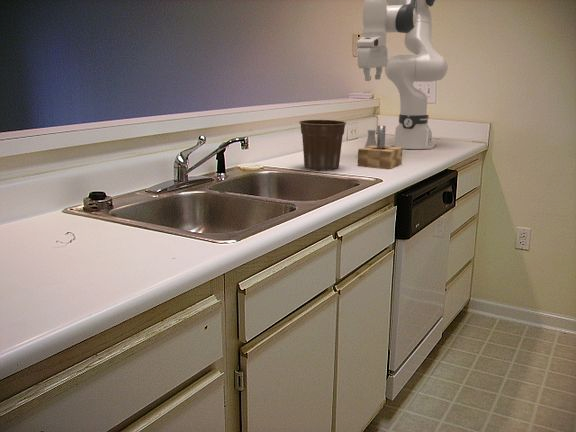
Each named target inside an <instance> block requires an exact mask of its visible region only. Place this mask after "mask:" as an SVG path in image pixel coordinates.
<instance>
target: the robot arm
mask: <svg viewBox="0 0 576 432" xmlns="http://www.w3.org/2000/svg"><path fill="white" fill-rule="evenodd" d="M435 2H436V0H364V1H363V7H362V9H363V10H362V25H363V29H362V33H361V37H360V38H359V39H358V40H356V47H357V66H358V69H362V70H363V74H364V81H365V82H371V80H372V77H371V76H372V75H371V73H370V72H371V69H372V68H373V69H375V70H376V71H375V72H376V73H375V75H374V79H375V80H376V81H377V80H378V81H379V80H381V77H382V72H383V68H384V73H385V76H386V77H387V79H388V80H390V81H391V82H392V84H394V85H395V87H396V89H397V90H398V91H397V92H398V93H399V99H400V101H399V102H400V103H399V104H400V110H399V111H400V112H399V113H400V114H399V115H398V125H397V126H396V127H395V128H394V129H395V130H394V131H395V132H394V138H393V139H394V140H393V143H391V144H390V147H401V148H403V149H402V150H422V149H423V150H426V149H427V150H428V149H429V150H430V149H431V150H433V149H434V148H435V147H436V146H437V142H435V141H432V138H433V137H432V135H433V133H432V131H431V128H430V127H429V124H428V122H429V121H428V120H429V118H430V117H429V114H427V109H428V96H427V94H426V93H425V92H423V91H422V90H420V89H417V88H416V87H415V86H414V83H415V82H419V83H420V82H424V83H425V82H426V83H427V82H436V81H441V80H443V79H444V78H445V76H446V75H447V73H448V62H447V60H446V58H445V57H444V56H442V55H441V54H440V53H438V52H437V51H436V49H435V48H434V47H433V42H432V26H433V24H432V15H431V10H430V8H429V7H432V6H434V4H435ZM387 33H400V34H404V40H403V41H404V46H405V48H406V49H407V50H408V51H409V52H410V53H412V54H399V55H394V56H390V57H389V58H388V47H387Z"/></svg>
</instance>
